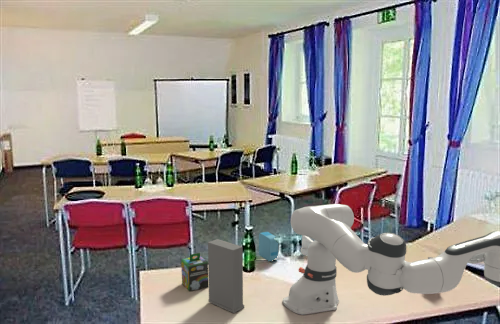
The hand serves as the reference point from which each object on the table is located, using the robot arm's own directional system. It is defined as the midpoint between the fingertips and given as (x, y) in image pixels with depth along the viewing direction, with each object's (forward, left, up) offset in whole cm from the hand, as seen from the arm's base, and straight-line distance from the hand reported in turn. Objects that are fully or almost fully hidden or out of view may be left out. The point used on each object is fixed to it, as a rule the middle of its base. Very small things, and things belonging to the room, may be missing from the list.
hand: (462, 246), depth 183 cm
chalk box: (-86, +64, -23) cm, 110 cm away
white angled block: (-22, +72, -23) cm, 79 cm away
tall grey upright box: (-82, +41, -23) cm, 95 cm away
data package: (-42, +77, -23) cm, 91 cm away
